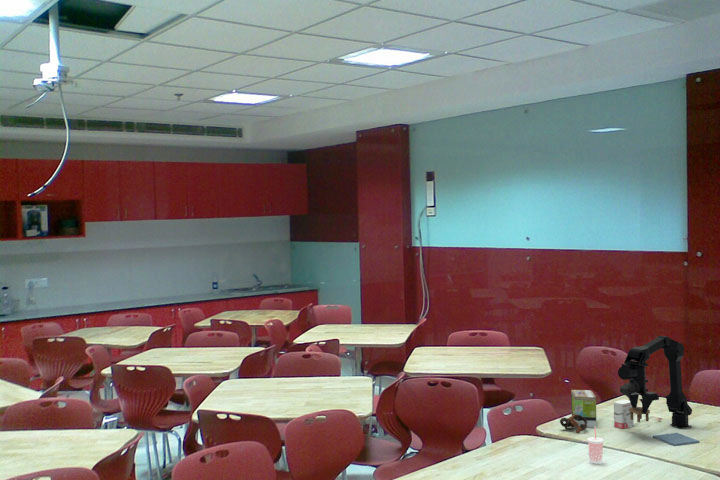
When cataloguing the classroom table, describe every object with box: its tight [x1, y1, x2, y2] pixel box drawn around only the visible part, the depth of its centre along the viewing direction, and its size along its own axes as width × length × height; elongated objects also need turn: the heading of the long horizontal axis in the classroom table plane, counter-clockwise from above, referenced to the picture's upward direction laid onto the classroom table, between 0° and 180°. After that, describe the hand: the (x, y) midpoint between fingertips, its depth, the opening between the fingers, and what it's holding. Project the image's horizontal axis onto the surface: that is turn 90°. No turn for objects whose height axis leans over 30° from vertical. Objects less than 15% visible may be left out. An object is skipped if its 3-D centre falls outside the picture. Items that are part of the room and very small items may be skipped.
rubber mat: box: [652, 432, 700, 447], centre depth 286 cm, size 13×13×1 cm
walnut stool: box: [629, 406, 651, 423], centre depth 292 cm, size 6×6×5 cm
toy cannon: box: [559, 414, 588, 434], centre depth 304 cm, size 12×10×8 cm
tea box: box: [570, 389, 597, 429], centre depth 315 cm, size 15×10×15 cm, turn 168°
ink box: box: [613, 399, 635, 430], centre depth 308 cm, size 9×5×12 cm, turn 123°
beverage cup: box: [586, 426, 604, 465], centre depth 261 cm, size 6×6×14 cm
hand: (639, 412), depth 292 cm, fingers closed on walnut stool, 6 cm apart
